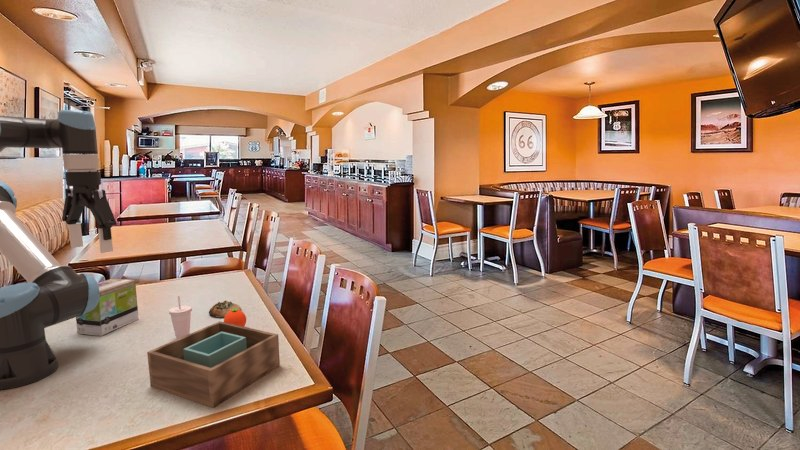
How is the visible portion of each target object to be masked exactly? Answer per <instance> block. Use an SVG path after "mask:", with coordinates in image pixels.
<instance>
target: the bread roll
mask: <svg viewBox="0 0 800 450" xmlns="http://www.w3.org/2000/svg"><path fill="white" fill-rule="evenodd" d="M232 309H237V310H240V311H241V309H242V307H241V306H240V305H239V304H237V303H233V301H228V300H224V301H222V302H220V301H218V302H217V303H215V304H214V305H212V307H211V308H210V309H209V311H208V315H209V316H210V317H212V318H219V319H224V318H225V316H226V314H227V313H228V312H230V311H232Z"/></svg>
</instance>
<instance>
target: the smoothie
mask: <svg viewBox="0 0 800 450" xmlns="http://www.w3.org/2000/svg"><path fill="white" fill-rule="evenodd" d="M177 302H178V304H177V305H178V306H174V307H172V308H170V309H169V310H168V312H169V313H168V314H169V315H170V318H171V322H172V327H173V331H174V335H175V340H177V339H179V338H181V337H184V336H186V335H189V334H191V315H192V311H193V308H192V306H190V305H182V304H181V296H180V295H178V296H177Z"/></svg>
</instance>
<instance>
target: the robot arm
mask: <svg viewBox="0 0 800 450" xmlns="http://www.w3.org/2000/svg"><path fill="white" fill-rule="evenodd" d="M96 129H97V127H96V123H95V118H94V114H93V113H92V112H90V111H86V110H77V109H60V110H58V113H57V119H56V118H53V119H49V118H34V117H24V116H23V117H21V116H8V115H7V116H6V115H0V153H1V152H3V151H4V149H6V148H21V149H23V148H29V149H32V148H33V149H34V148H35V149H48V150H49V149H62V150H61V151H62V161H63V163H62V164H63V169H64V170H66V171H65V173H64V175H65V176H64V177H65V185H66V186H68V187H69V188H67V187H66V188H65V189H64V191H65V198H64V204H63V211H62V217H61V220H62V222H66V225H67V226H68V234H69V242H70V243H69V244H70V248H71V249H74V248H75V249H77V248H81V247H84V242H83V233H82V225H81V223H82V222H81V219H80V218H81V216H82V213H83V211H84V208H86V209H89V210H90V212H91V214H92V215H93V217H94V219H95V221H96V222H97V224H98V226H97V230H98V231H97V232H98V240H99V242H98V243H99V250H100V253H101V254H105V253H109V252H113V251H114V247H113V237H112V227H113V226H116V225H117V221H116V219H115V216H114V214H113V211H112V209H111V206H110V204H109V203H110V202H109V200H108V199H107V193H106V190H105V189H98V188H97V186H101V185H102V178H101V177H102V176H101V172H100V171H98V170H99V169H100V158H99V153H98V151H99V150H98V141H97V140H98V139H97V130H96ZM15 196H16V194H15V191H14V190H13V189H12V187H11V186H10V185H8V184H7V182H4V181H2V180H0V253H1V254H2V255H3V256H4V257H5V259H7V260H8V262H9V263H10V264H11V265H12V266H13V267H14V268H15V270H16V271H17V272H18V273H19V274H20V275H21V276H22V277H23V278H24V279H25V280H26V282H18V283H16V284H10V285H5V286H1V287H0V390H7V389H14V388H18V387H22V386H25V385H28V384H31V383H32V384H33V383H35V382H38V381H40V380H43V379H44V378H46V377H48V376H50V375H52V374H53V373H54V372H55V371H57V369H58V368H59V363H58V358H57V355H56V354H55V353H54V351H53V350H52V348H51V346H50V344H48V341H47V339H46V332H45V331H46V330H45V329H46V328H49V327H52V326H54V325H57V324H61V323H63V322H66V321H69V320H72V319H76V317H79V316H82V315H83V314H85V313H88V312H90V311H92V310H93V309H95V307H96V306H97V304H98V302H99V298H100V293H99V291H100V290H99V286H98V283H99V282H98V281H97V280H96V279H95V277H94V276H93V275H92V274H90V273H86V272H85V273H84V272H83V273H79V274H78V273H77V272H76V271H75V270H74V268H73V267H71V266H70V265H62V264H60V262H58V260H57V259H56V258H55V257H54V256H53V255H52V253H50V252H49V250H48V249H47V248H46V247H45V246H44V245H43V244H42V243H41V241H39V239H37V237H36V236H35V235H34V234H33V233H32V232H31V230H29V229H28V228H27V226H25V224H24V223H23V222H22V221H21V220H20V219H19V218H18V217H17V216H16V212H17V206H18V200H17V197H15Z"/></svg>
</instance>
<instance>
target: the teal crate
mask: <svg viewBox="0 0 800 450" xmlns="http://www.w3.org/2000/svg"><path fill="white" fill-rule="evenodd" d="M246 349H247V342H246V337H243V336H239V335H234V334H230V333H226V332H219V333H217V334H215V335H213V336H211V337H208V338H206V339H204V340H202V341H200V342H197V343H195V344H193V345H191V346H189V347H186V348H184V349H183V354H184V360H185V361H189V362H192V363H196V364H199V365H202V366H206V367H209V368H212V367H214V366H216V365H218V364H220V363H222V362H224V361H225V360H227V359H229V358H231V357H233V356H235V355H237V354H239V353H240V352H242V351H244V350H246Z"/></svg>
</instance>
